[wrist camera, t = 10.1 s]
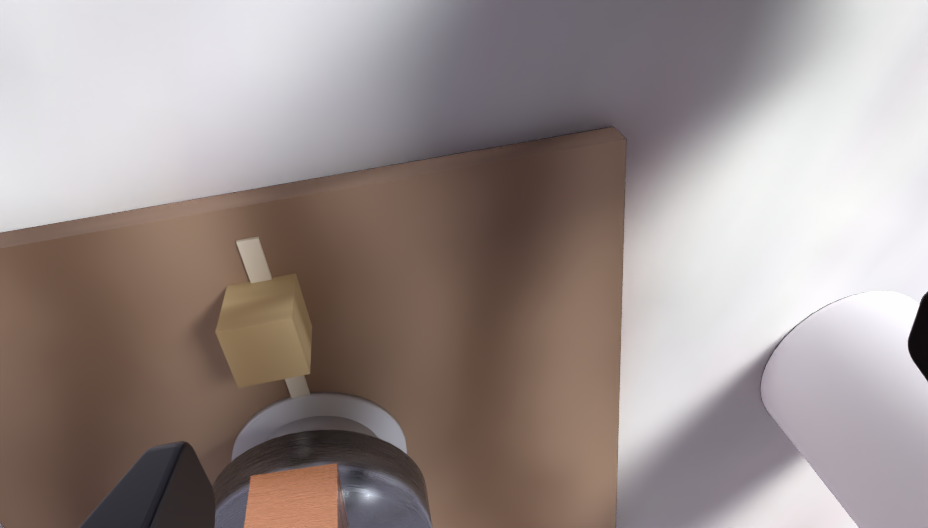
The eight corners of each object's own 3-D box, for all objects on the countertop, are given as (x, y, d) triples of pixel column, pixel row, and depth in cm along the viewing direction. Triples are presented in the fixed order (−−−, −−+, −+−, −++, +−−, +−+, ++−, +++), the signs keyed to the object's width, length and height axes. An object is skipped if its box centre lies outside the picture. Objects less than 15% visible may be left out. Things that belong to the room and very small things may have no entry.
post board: (613, 126, 19) (658, 169, 17) (607, 534, 30) (633, 599, 28) (-170, 262, 18) (-260, 334, 15) (123, 643, 28) (102, 724, 26)
